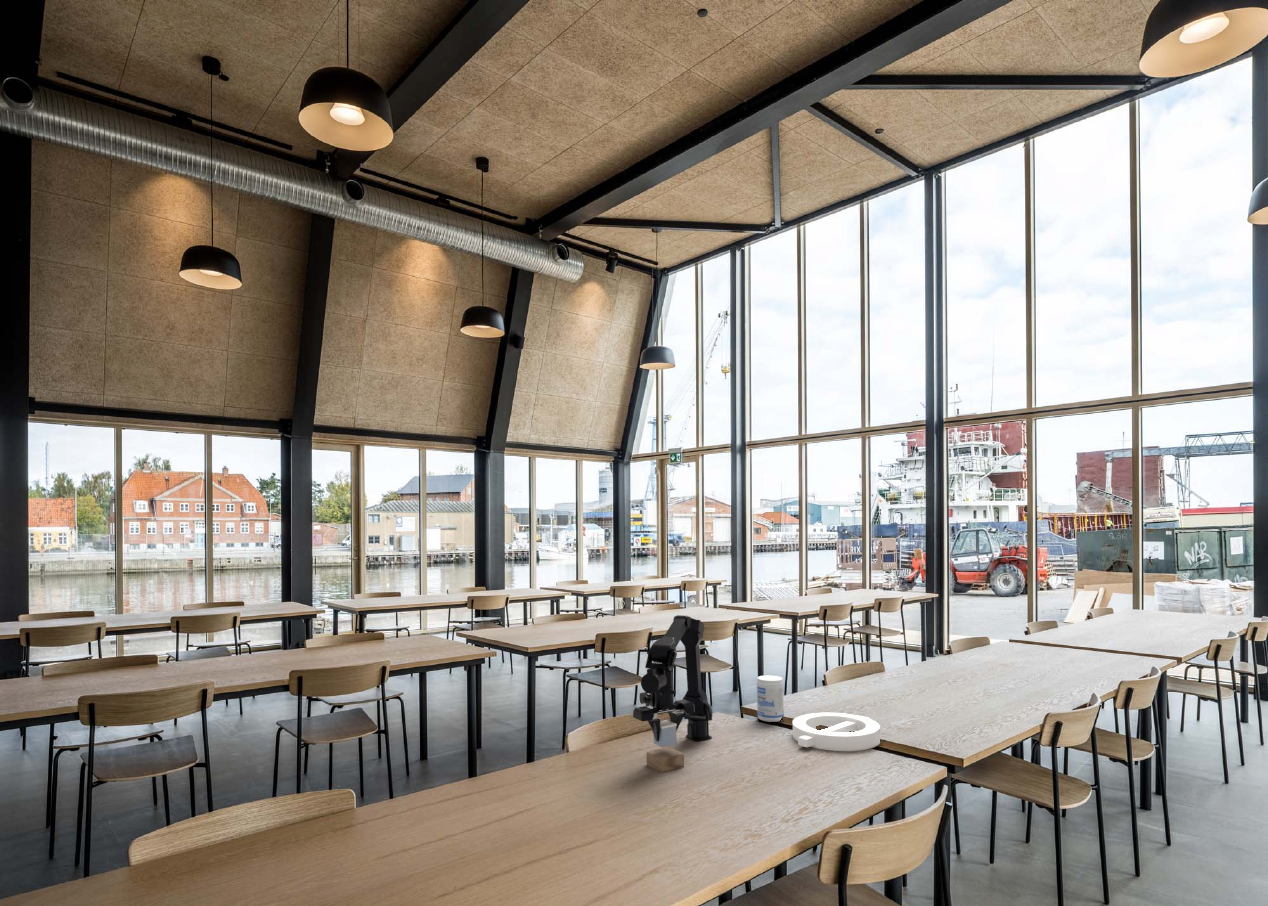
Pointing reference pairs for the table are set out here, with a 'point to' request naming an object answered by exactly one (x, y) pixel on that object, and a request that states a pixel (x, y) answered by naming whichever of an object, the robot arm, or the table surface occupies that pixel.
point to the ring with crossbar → (836, 731)
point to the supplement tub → (770, 698)
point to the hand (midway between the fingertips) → (664, 739)
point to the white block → (667, 734)
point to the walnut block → (665, 759)
